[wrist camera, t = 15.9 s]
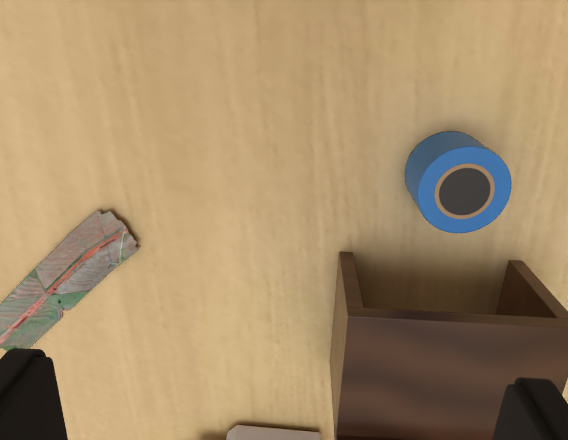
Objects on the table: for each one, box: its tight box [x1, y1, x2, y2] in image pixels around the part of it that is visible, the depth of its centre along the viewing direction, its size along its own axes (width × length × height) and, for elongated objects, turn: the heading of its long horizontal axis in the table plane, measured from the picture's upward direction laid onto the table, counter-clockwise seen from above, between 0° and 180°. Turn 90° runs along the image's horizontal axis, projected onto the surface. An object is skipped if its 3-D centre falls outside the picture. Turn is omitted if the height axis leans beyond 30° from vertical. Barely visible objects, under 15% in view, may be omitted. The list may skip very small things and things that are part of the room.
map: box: [0, 211, 139, 351], centre depth 44 cm, size 5×20×1 cm, turn 132°
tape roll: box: [405, 131, 511, 233], centre depth 36 cm, size 7×7×5 cm
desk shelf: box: [330, 252, 568, 440], centre depth 39 cm, size 12×16×12 cm
